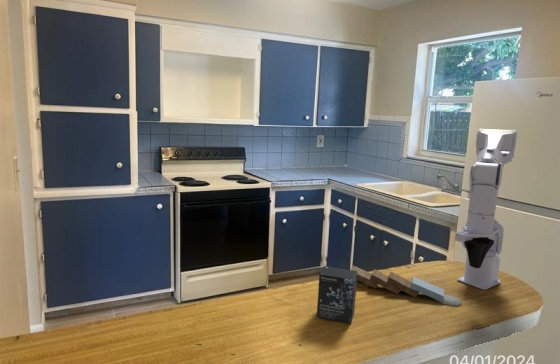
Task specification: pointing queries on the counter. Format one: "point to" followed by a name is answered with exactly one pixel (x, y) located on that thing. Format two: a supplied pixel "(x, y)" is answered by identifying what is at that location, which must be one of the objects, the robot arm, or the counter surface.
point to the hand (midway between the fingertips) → (474, 266)
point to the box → (336, 294)
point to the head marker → (451, 300)
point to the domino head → (427, 289)
